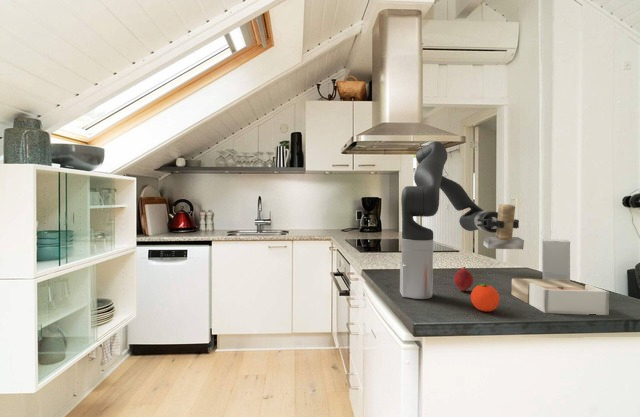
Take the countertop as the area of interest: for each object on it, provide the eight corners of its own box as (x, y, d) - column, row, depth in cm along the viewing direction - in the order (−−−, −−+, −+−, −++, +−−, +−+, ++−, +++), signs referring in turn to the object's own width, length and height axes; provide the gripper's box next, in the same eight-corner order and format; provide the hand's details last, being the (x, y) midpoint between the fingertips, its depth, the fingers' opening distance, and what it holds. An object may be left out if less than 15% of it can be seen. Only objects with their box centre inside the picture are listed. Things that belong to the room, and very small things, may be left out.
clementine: (463, 306, 97) (464, 280, 97) (487, 305, 97) (488, 280, 97) (478, 315, 89) (479, 287, 89) (505, 315, 89) (505, 287, 89)
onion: (474, 294, 109) (475, 268, 109) (455, 292, 111) (455, 267, 110) (470, 289, 115) (471, 265, 115) (452, 288, 116) (452, 264, 116)
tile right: (563, 303, 98) (569, 306, 95) (563, 287, 98) (570, 289, 95) (580, 303, 98) (587, 307, 95) (580, 287, 98) (587, 290, 95)
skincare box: (569, 283, 126) (570, 239, 126) (570, 286, 121) (571, 241, 120) (541, 280, 131) (542, 238, 130) (541, 283, 125) (542, 239, 125)
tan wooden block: (527, 303, 100) (528, 286, 100) (511, 294, 110) (511, 278, 110) (587, 305, 98) (587, 287, 98) (565, 295, 108) (565, 279, 108)
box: (544, 312, 91) (545, 289, 91) (529, 303, 99) (529, 282, 99) (608, 315, 90) (609, 291, 90) (587, 305, 98) (588, 284, 98)
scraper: (487, 248, 115) (491, 206, 112) (483, 245, 119) (486, 204, 116) (523, 249, 114) (527, 206, 111) (517, 245, 118) (521, 204, 115)
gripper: (468, 210, 129) (487, 212, 112) (508, 211, 128) (533, 213, 111) (468, 231, 129) (486, 236, 112) (508, 232, 128) (533, 237, 111)
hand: (509, 224), depth 111 cm, fingers closed on scraper, 3 cm apart
